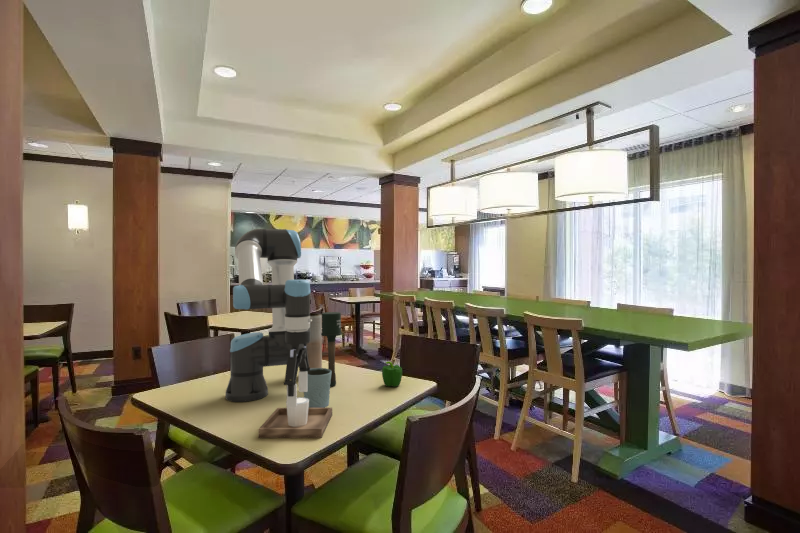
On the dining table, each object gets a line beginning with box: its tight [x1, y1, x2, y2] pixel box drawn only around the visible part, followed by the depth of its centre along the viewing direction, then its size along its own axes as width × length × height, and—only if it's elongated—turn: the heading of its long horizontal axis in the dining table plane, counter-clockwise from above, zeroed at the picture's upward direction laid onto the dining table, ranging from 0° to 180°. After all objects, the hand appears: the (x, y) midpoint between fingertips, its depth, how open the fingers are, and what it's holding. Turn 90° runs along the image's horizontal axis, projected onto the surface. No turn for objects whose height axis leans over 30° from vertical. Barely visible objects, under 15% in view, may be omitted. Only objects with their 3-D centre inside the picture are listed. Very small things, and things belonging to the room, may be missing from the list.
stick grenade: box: [321, 311, 343, 388], centre depth 168 cm, size 8×9×30 cm
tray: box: [257, 407, 333, 439], centre depth 125 cm, size 18×18×2 cm
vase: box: [298, 312, 323, 372], centre depth 183 cm, size 10×10×28 cm
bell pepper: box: [381, 361, 403, 388], centre depth 168 cm, size 8×8×10 cm
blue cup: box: [303, 367, 332, 408], centre depth 144 cm, size 10×10×12 cm
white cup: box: [285, 396, 309, 427], centre depth 125 cm, size 7×7×7 cm
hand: (297, 398), depth 126 cm, fingers open, 13 cm apart
